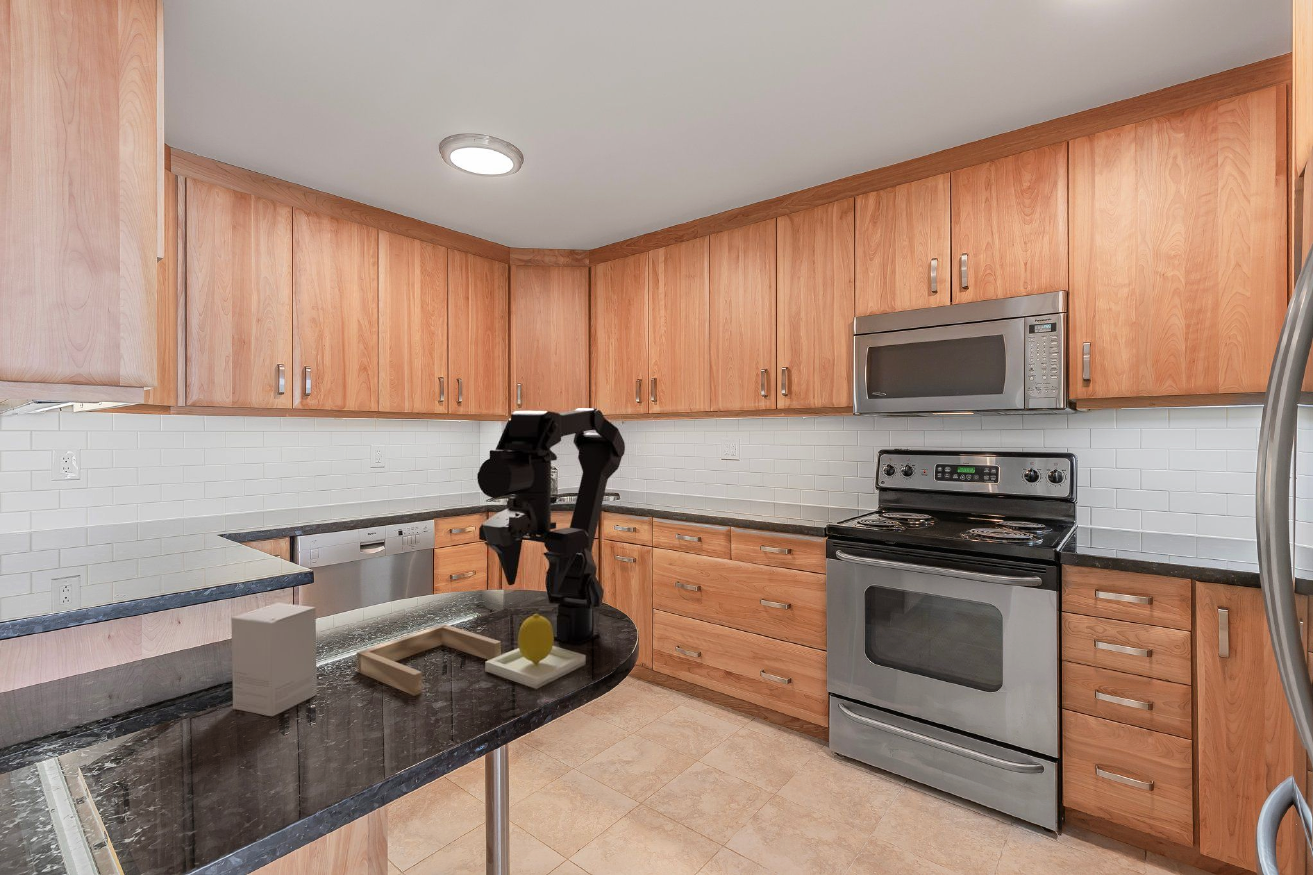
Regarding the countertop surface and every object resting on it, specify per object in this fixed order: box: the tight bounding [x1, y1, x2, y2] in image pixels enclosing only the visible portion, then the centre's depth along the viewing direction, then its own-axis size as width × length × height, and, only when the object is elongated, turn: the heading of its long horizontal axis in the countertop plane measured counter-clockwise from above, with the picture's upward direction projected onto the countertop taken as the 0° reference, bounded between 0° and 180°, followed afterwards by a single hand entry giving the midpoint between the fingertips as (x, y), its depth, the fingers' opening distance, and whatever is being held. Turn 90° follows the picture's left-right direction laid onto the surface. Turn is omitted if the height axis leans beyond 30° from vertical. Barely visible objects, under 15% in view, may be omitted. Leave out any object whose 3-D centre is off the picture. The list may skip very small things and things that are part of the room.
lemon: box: [517, 613, 555, 664], centre depth 98 cm, size 6×6×8 cm
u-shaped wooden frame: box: [356, 623, 502, 697], centre depth 98 cm, size 16×15×3 cm
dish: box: [484, 645, 586, 690], centre depth 98 cm, size 11×11×2 cm
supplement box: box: [230, 602, 318, 717], centre depth 85 cm, size 7×7×13 cm
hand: (532, 589), depth 98 cm, fingers open, 9 cm apart
